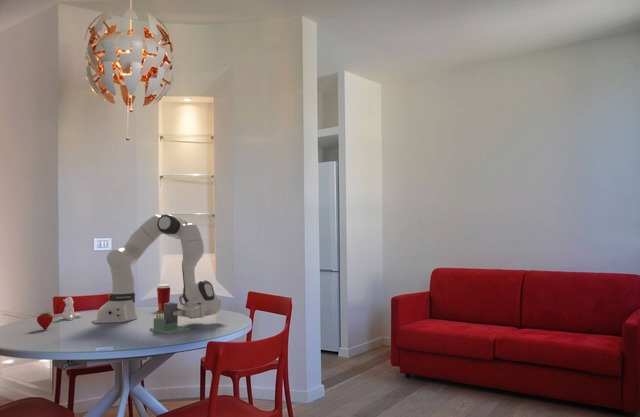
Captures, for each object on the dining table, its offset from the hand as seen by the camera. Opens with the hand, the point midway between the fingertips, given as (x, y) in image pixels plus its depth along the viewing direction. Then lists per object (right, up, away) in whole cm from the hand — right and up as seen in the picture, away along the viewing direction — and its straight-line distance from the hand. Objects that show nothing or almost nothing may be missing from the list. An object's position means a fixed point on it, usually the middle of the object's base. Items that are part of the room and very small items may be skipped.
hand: (169, 312), depth 255 cm
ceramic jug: (-1, -10, +54) cm, 55 cm away
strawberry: (-63, -10, +7) cm, 64 cm away
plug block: (+1, -6, 0) cm, 6 cm away
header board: (0, -8, 0) cm, 8 cm away
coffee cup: (-21, -11, +62) cm, 67 cm away
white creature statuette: (-65, -11, +37) cm, 75 cm away
